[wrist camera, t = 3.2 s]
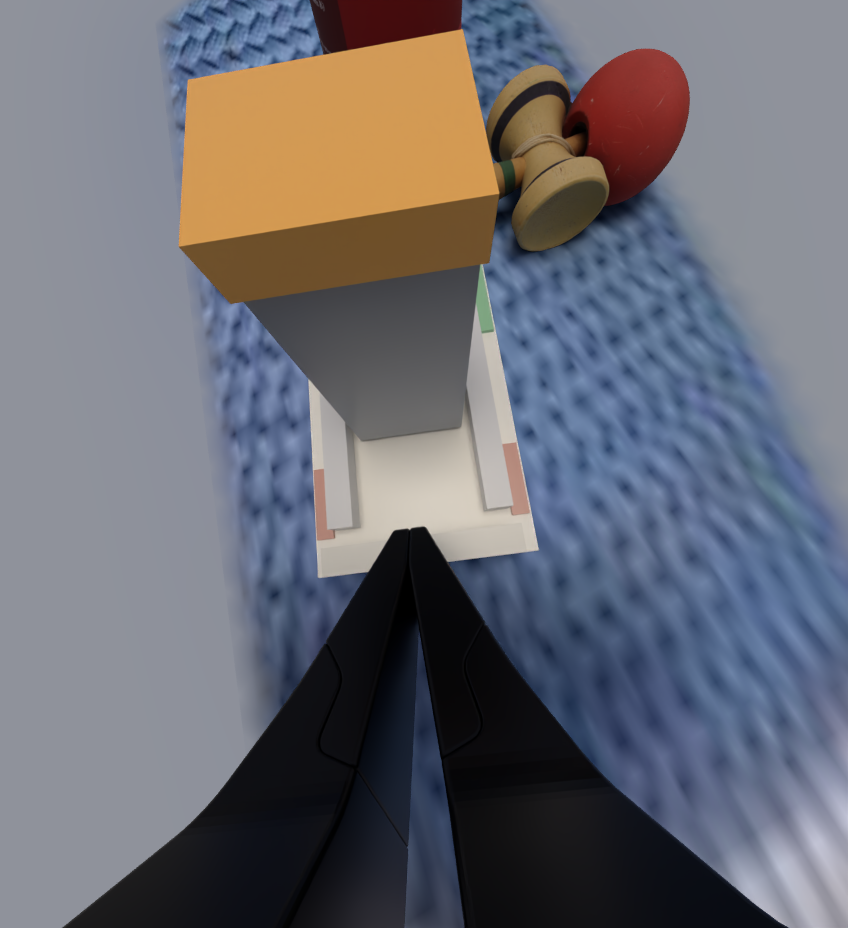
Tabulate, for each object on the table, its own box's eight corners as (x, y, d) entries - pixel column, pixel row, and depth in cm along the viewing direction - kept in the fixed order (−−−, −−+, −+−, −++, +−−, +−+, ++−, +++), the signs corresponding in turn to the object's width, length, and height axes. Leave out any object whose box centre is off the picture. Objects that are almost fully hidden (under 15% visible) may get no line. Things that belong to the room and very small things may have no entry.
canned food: (481, 108, 23) (509, -264, 12) (412, 188, 22) (378, -146, 11) (392, 70, 25) (349, -293, 14) (322, 143, 23) (218, -192, 13)
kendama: (393, 333, 21) (692, 213, 19) (347, 238, 16) (768, 48, 13) (370, 255, 24) (625, 143, 22) (325, 152, 19) (663, -15, 16)
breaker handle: (464, 430, 15) (499, 193, 5) (359, 445, 15) (178, 246, 5) (452, 359, 15) (463, 29, 5) (353, 374, 16) (188, 79, 6)
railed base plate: (522, 548, 17) (553, 551, 12) (340, 571, 17) (297, 583, 12) (471, 273, 20) (478, 188, 15) (323, 297, 21) (284, 221, 16)
